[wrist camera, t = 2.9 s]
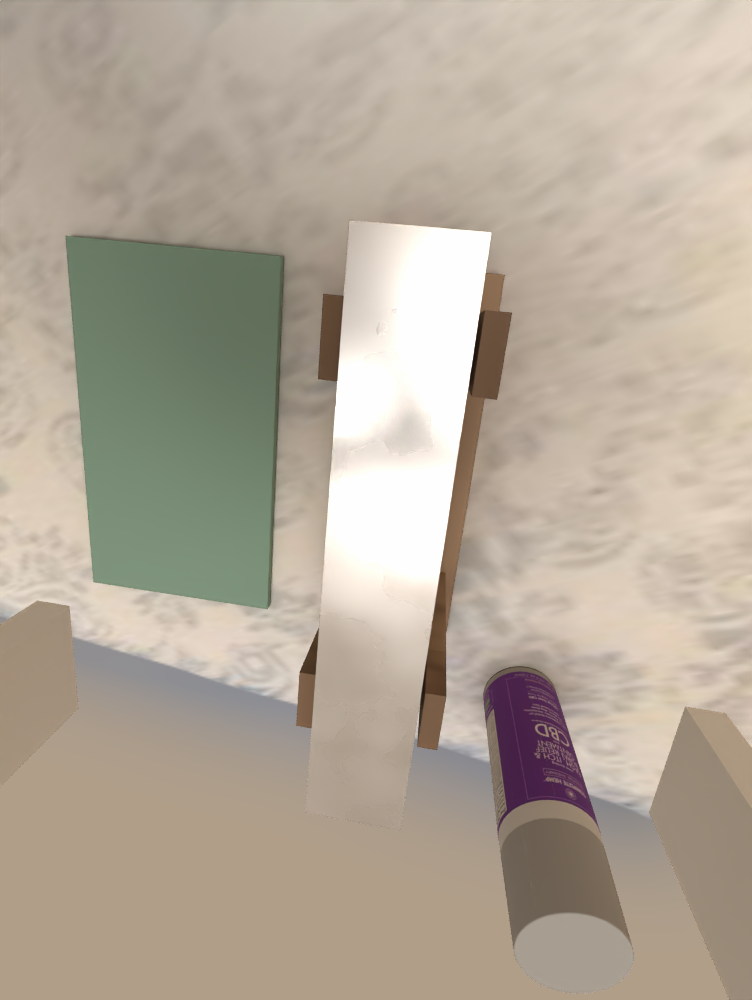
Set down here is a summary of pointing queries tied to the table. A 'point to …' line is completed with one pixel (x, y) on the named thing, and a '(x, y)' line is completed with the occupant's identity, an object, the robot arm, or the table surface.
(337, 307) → the rack
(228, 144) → the table surface
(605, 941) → the container
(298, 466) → the table surface
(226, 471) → the mat
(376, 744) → the rail
